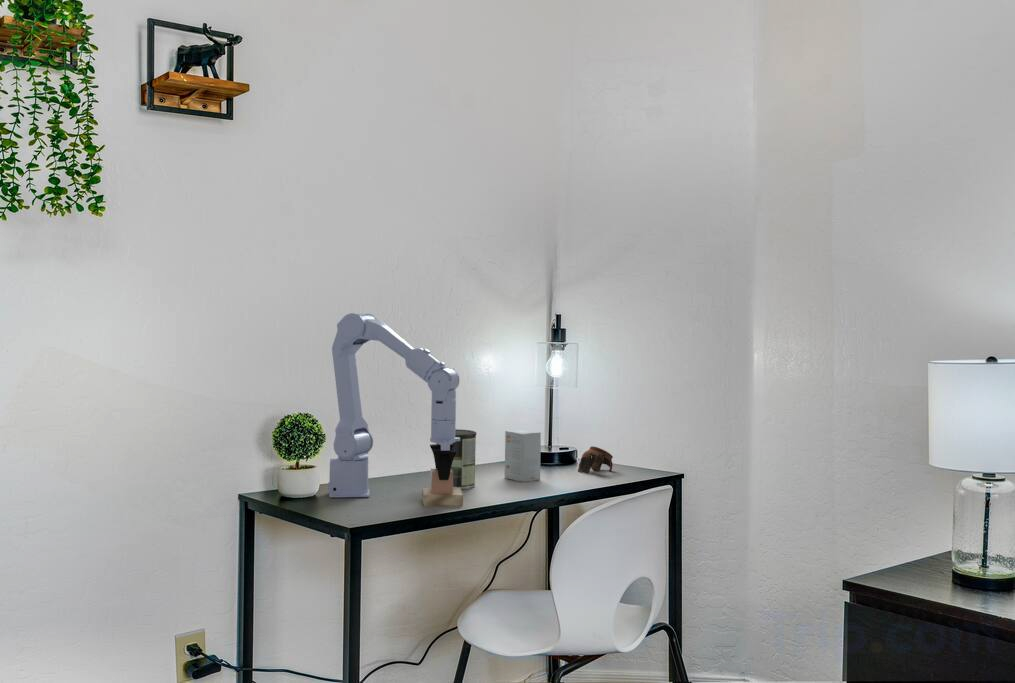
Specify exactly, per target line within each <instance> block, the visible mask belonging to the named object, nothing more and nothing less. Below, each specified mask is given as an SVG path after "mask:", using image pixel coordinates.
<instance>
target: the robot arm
mask: <svg viewBox="0 0 1015 683" xmlns="http://www.w3.org/2000/svg"><path fill="white" fill-rule="evenodd" d="M336 328H337V331H336V334H335V337H334V340H333V343H332V346H331V353H332V361H333V370H334V377H335V389H336V397H337V404H338V406H337V407H338V413H339V422H338V423H337V425H336V427H335V430H334V432H335V438H334V441H333V450H334V453H335V454H336V455H337V458H330V460H329V481H328V491H329V493H328V495H329V496H328V497H329V498H369V497H370V496H371V495H370V494H371V493H370V492H371V490H370V489H369V452H370V451H371V450H372V448H373V446H374V438H373V435H372V433H371V432H370V430H369V424H368V422H367V421H366V420H365V419H364V417H363V413H362V412H363V410H362V402H361V394H360V387H359V386H360V384H359V376H358V370H357V369H358V367H357V359H356V353H357V352H358V351H359V350H360V349H361V347H362V346H363V345H364V344H366V343H367V342H369V341H377V342H380V343H381V344H383V345H384V346H386V347H387V348H389V349H390V350H392V351H393V352H394V353H396V354H397V355H399V356H400V357H401V358H402V359H403V360H404V361H405V367H406V368H408V369H409V370H410V371H411V372H412V373H413V374H415V375H417V377H418V378H420V379H421V380H423V381H424V382H425V383H427V386H428V388H429V390H430V391H431V408H430V409H431V415H430V416H431V418H430V419H431V421H430V423H431V424H430V438H429V442H431V444H429V447H430V449H431V452H432V454H433V460H434V464H435V469H437V470H438V476H439V480H448V479H449V476H450V471H451V466H452V462H453V459H454V457H455V455H456V453H457V451H456V450H452V448H453V446H454V445H453V444H452V443H454V442H456V441H460V438H459V437H455V429H456V419H457V418H456V413H457V411H456V409H457V405H456V403H457V390H456V389H457V388H458V387H459V386H460V376H459V373H458V372H457V371H456V370H455V368H453V367H448V366H447V367H445V365H446V363H445V362H443V361H439V360H438V359H436V358H435V357H434V356H433V355H431V354H430V353H431V351H430V349H427V348H422V347H417V348H414V347H413V346H412V345H411V344H410V343H408V342H407V341H406V340H405V339H403V338H402V337H401V336H400V335H399V334H397V333H396V332H395V331H394V330H393V329H392V328H390V326H388V325H387V324H386V323H385V322H384V321H383V320H381V319H378V317H376V316H375V315H373V314H371V313H364V314H362V313H361V314H360V313H353V312H352V313H347V314H346V315H344V316H343V317H342V318H341V319H340V320H339V321H338V322H337V324H336ZM432 443H434V444H432Z"/></svg>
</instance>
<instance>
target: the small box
mask: <svg viewBox="0 0 1015 683" xmlns="http://www.w3.org/2000/svg"><path fill="white" fill-rule="evenodd" d="M504 434H505V435H504V437H505V438H504V445H505V446H504V478H505V479H509V480H514V481H518V482H521V483H522V482H523V483H527V482H534V481H539V480H541V443H542V442H541V439H542V438H541V434H542V433H541V431H535V430H534V431H532V430H525V429H514V430H505V432H504Z"/></svg>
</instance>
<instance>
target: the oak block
mask: <svg viewBox="0 0 1015 683" xmlns="http://www.w3.org/2000/svg"><path fill="white" fill-rule="evenodd" d="M422 504H424V505H423V507H453V506H452V505H455V506H454V507H463V506H464V494H463V491H462V489H460V488H453V494H431V490H430V487H422Z"/></svg>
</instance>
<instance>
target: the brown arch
mask: <svg viewBox="0 0 1015 683" xmlns="http://www.w3.org/2000/svg"><path fill="white" fill-rule="evenodd" d="M612 460H613V455H612V454H611V453H610V452H609V451H607V450H605V449H602V448H600V447H597V446H593V445H592V446H590V447H589V449H588V450H586V451H584V452H583V454H582V456H581V458H580V461H579V464H578V469H577V471H578V472H579V471H580V472H582V473H585V474H588V473H589V474H590V472H591V470H592V471H593V472H600V471H601V467H602V465H606V466H608V467H609V472H612V470H613V461H612Z"/></svg>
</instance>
